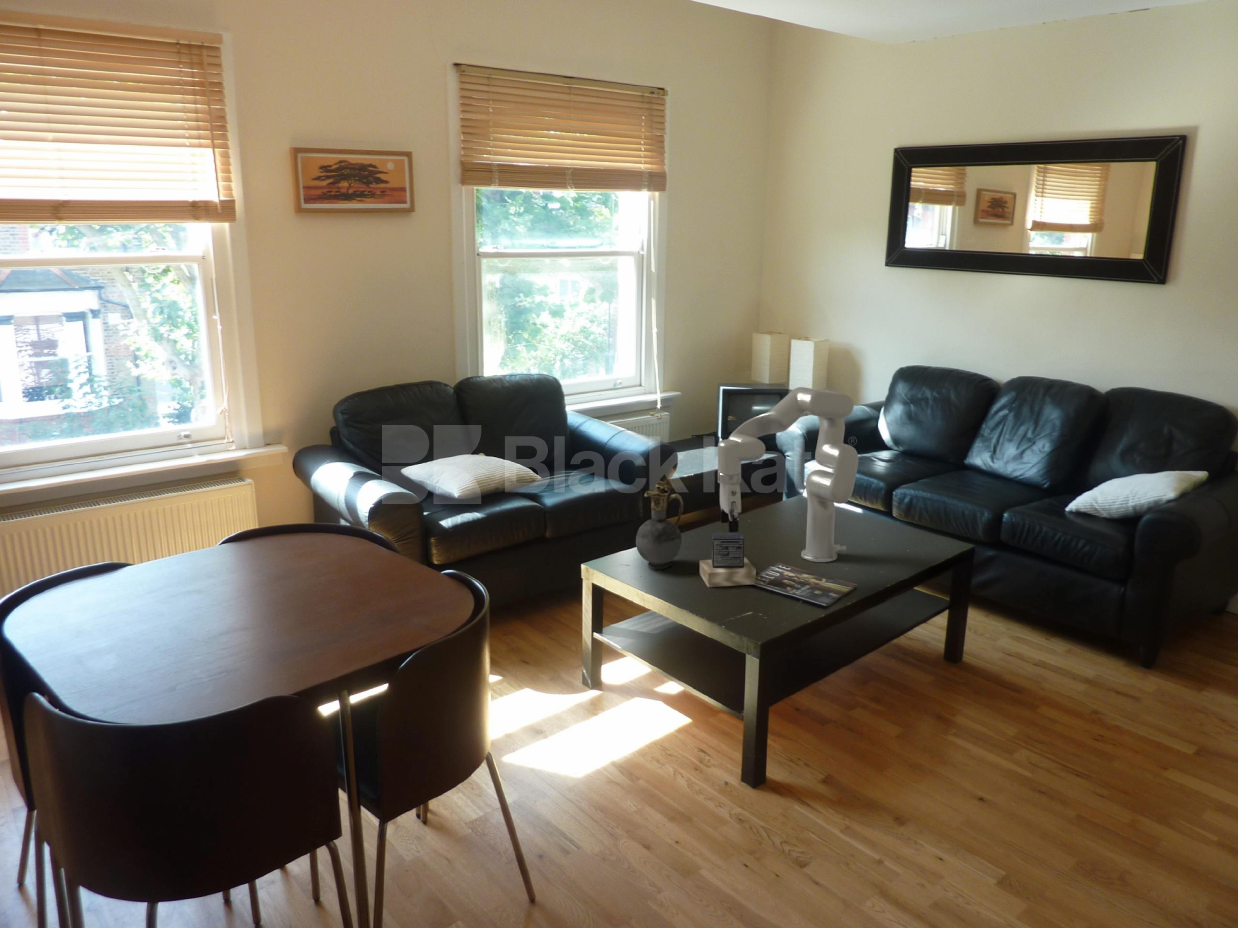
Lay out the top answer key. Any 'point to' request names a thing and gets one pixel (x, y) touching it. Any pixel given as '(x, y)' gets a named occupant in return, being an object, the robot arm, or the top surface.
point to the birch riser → (727, 574)
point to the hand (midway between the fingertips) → (729, 527)
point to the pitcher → (659, 530)
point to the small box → (727, 550)
